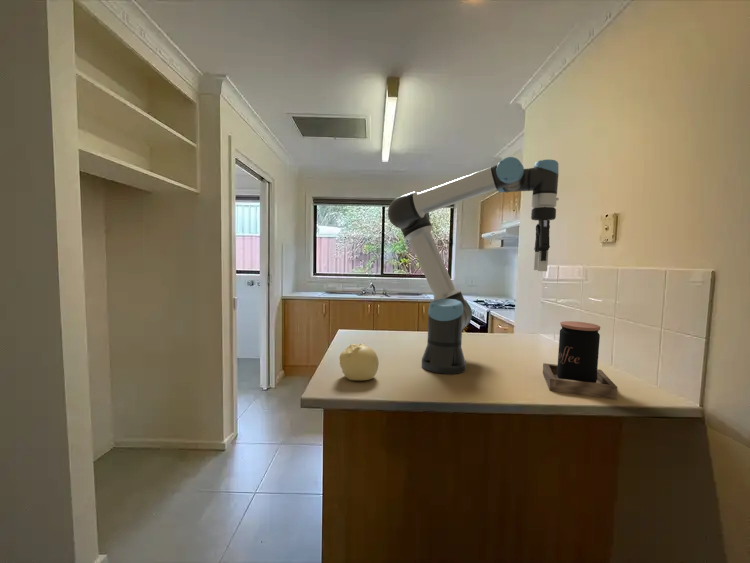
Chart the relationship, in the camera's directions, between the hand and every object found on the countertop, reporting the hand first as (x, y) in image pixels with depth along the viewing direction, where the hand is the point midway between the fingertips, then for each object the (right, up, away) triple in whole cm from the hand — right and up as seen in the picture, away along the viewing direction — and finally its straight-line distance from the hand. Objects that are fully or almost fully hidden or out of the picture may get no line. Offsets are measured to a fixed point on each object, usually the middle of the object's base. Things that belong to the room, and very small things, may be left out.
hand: (540, 270), depth 122 cm
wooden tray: (+6, -36, -12) cm, 38 cm away
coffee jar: (+6, -35, -12) cm, 37 cm away
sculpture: (-62, -34, -11) cm, 71 cm away
